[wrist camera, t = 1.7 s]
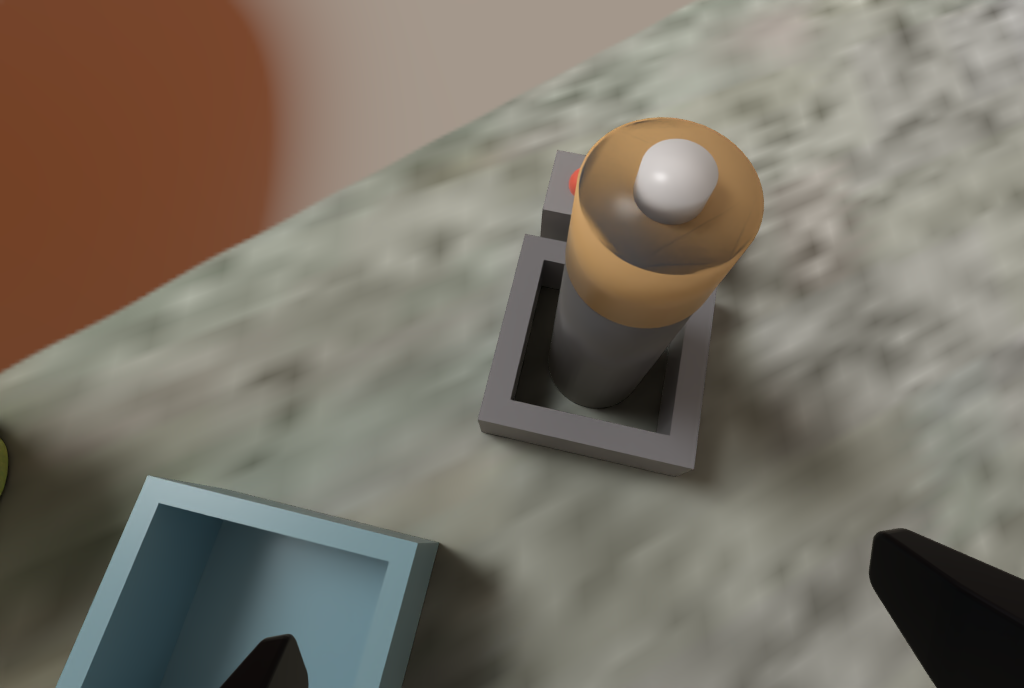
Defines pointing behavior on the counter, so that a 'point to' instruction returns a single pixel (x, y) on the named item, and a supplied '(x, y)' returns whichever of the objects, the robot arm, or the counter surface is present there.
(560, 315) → the battery cell
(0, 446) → the plant pot
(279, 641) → the robot arm
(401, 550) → the bin
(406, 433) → the counter surface
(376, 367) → the counter surface
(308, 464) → the counter surface
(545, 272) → the tester
